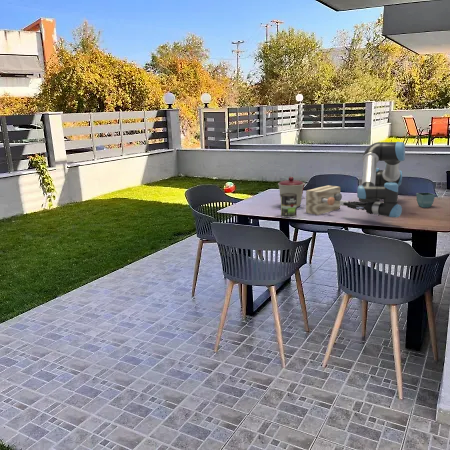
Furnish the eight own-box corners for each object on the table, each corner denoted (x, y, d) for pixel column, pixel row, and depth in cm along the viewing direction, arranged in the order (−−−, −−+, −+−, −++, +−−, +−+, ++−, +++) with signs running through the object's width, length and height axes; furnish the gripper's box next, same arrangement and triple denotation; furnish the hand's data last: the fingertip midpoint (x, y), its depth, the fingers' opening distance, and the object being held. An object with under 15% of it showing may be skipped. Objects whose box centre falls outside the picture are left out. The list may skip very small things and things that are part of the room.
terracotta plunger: (314, 203, 296) (314, 195, 295) (319, 202, 299) (319, 194, 298) (329, 205, 288) (330, 198, 286) (334, 204, 291) (334, 196, 290)
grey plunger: (322, 199, 308) (322, 192, 307) (326, 198, 311) (326, 191, 310) (337, 201, 300) (337, 194, 298) (341, 200, 303) (341, 193, 301)
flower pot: (414, 205, 308) (415, 192, 306) (427, 205, 309) (428, 192, 307) (421, 208, 300) (422, 195, 298) (434, 207, 300) (435, 194, 298)
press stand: (305, 212, 300) (306, 190, 296) (327, 206, 315) (328, 185, 312) (318, 215, 293) (318, 192, 289) (339, 208, 308) (340, 186, 304)
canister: (273, 207, 320) (272, 177, 314) (287, 202, 332) (287, 174, 327) (294, 210, 308) (294, 179, 302) (309, 205, 320) (309, 176, 315)
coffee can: (299, 216, 290) (299, 195, 286) (284, 218, 287) (284, 196, 284) (292, 213, 299) (292, 192, 296) (278, 215, 297) (278, 193, 293)
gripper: (368, 216, 264) (334, 210, 281) (380, 212, 272) (346, 206, 289) (369, 203, 262) (334, 198, 279) (380, 199, 270) (346, 195, 287)
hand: (340, 202), depth 284 cm, fingers closed
